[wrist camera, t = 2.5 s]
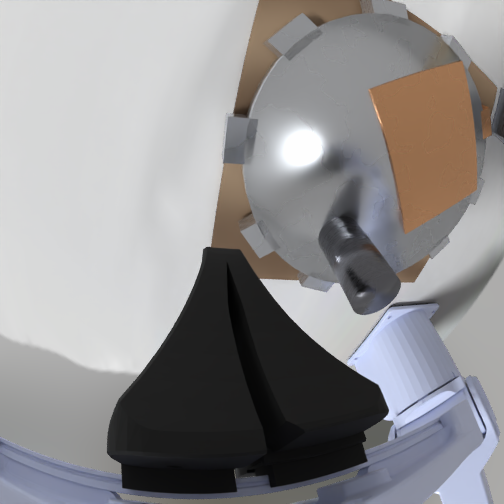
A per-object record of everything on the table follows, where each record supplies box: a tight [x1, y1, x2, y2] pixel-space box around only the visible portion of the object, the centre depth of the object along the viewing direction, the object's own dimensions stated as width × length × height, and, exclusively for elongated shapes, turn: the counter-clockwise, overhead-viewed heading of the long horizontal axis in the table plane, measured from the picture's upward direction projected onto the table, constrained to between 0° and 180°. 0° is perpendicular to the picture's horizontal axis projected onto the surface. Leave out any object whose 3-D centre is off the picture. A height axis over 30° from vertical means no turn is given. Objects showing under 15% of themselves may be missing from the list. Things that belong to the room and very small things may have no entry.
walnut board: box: [211, 0, 497, 282], centre depth 13 cm, size 18×17×1 cm
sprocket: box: [222, 0, 492, 315], centre depth 11 cm, size 18×18×6 cm
